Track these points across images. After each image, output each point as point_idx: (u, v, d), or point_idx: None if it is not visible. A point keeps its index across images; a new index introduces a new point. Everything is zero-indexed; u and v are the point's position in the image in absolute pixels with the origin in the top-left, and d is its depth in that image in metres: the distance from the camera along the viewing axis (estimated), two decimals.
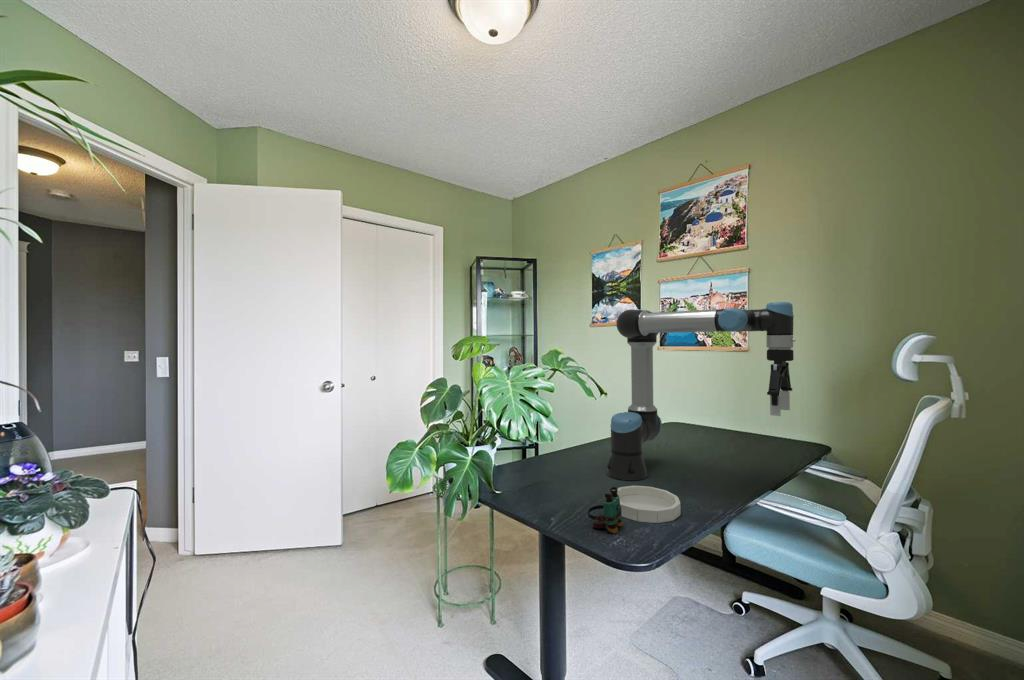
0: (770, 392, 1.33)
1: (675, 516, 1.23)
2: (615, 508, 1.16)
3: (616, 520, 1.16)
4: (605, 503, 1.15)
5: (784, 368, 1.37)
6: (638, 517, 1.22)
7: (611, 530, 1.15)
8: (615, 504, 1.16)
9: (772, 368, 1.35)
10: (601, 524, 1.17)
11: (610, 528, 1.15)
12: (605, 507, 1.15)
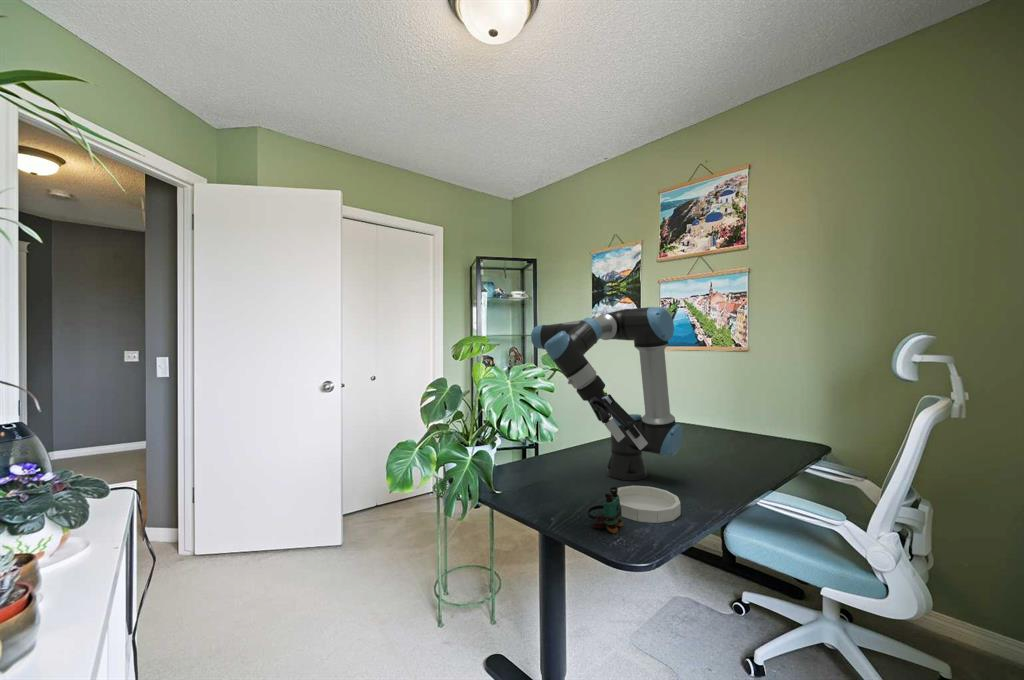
0: None
1: (675, 516, 1.23)
2: (615, 508, 1.16)
3: (616, 520, 1.16)
4: (605, 503, 1.15)
5: None
6: (638, 517, 1.22)
7: (611, 530, 1.15)
8: (615, 504, 1.16)
9: None
10: (601, 524, 1.17)
11: (610, 528, 1.15)
12: (605, 507, 1.15)
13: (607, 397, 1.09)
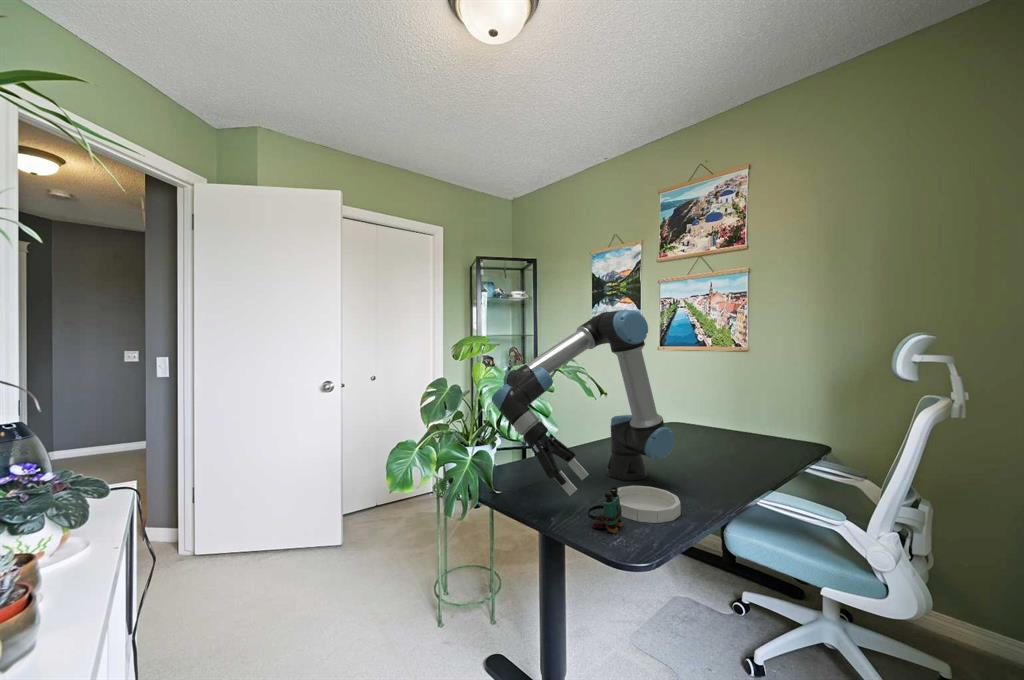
0: None
1: (675, 516, 1.23)
2: (615, 508, 1.16)
3: (616, 520, 1.16)
4: (605, 503, 1.15)
5: None
6: (638, 517, 1.22)
7: (611, 530, 1.15)
8: (615, 504, 1.16)
9: None
10: (601, 524, 1.17)
11: (610, 528, 1.15)
12: (605, 507, 1.15)
13: (534, 447, 1.20)
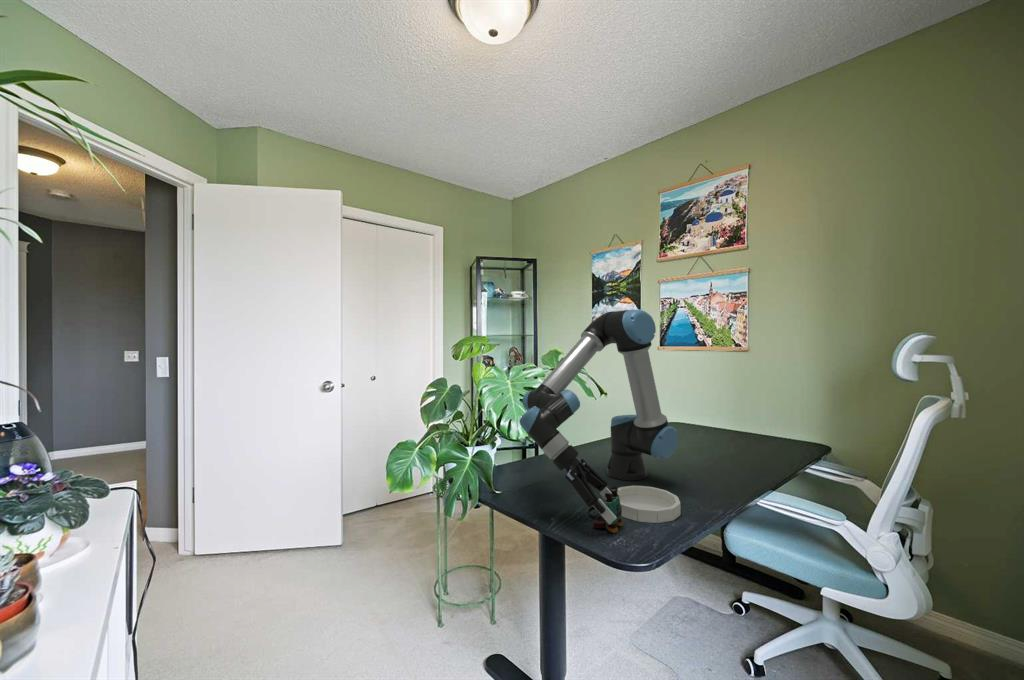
0: None
1: (675, 516, 1.23)
2: (615, 508, 1.16)
3: (616, 520, 1.16)
4: (605, 503, 1.15)
5: None
6: (638, 517, 1.22)
7: (611, 530, 1.15)
8: (615, 503, 1.16)
9: None
10: (601, 524, 1.17)
11: (610, 528, 1.15)
12: None
13: (568, 475, 1.16)
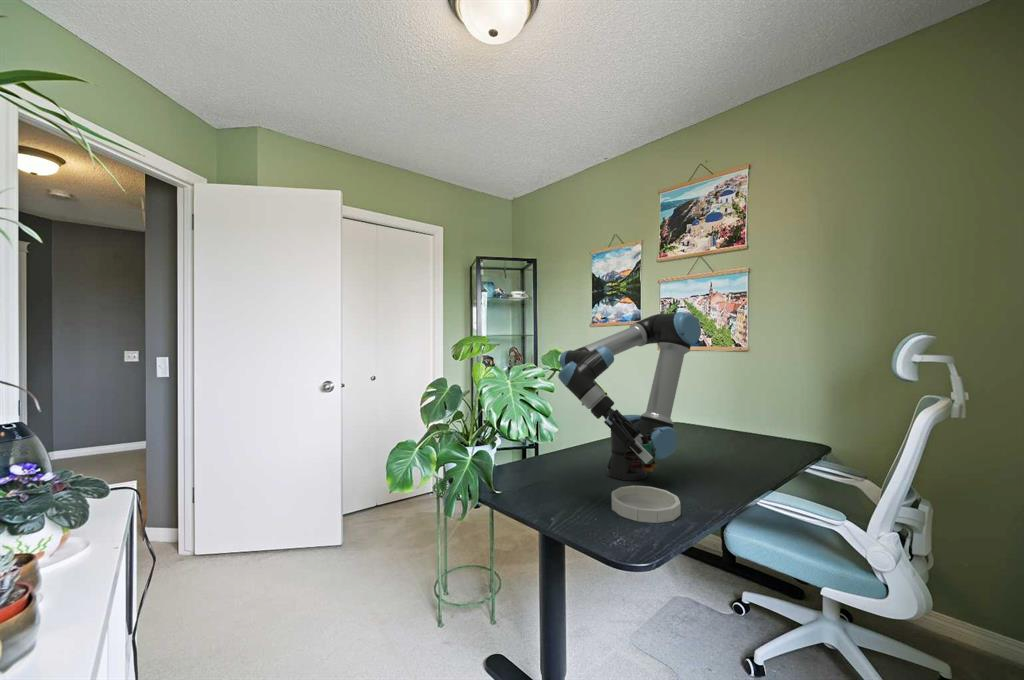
0: None
1: (675, 516, 1.23)
2: (650, 449, 1.27)
3: (652, 460, 1.26)
4: (641, 445, 1.26)
5: None
6: (638, 517, 1.22)
7: (647, 469, 1.25)
8: (650, 445, 1.27)
9: None
10: (638, 464, 1.27)
11: (646, 467, 1.26)
12: None
13: (607, 420, 1.27)
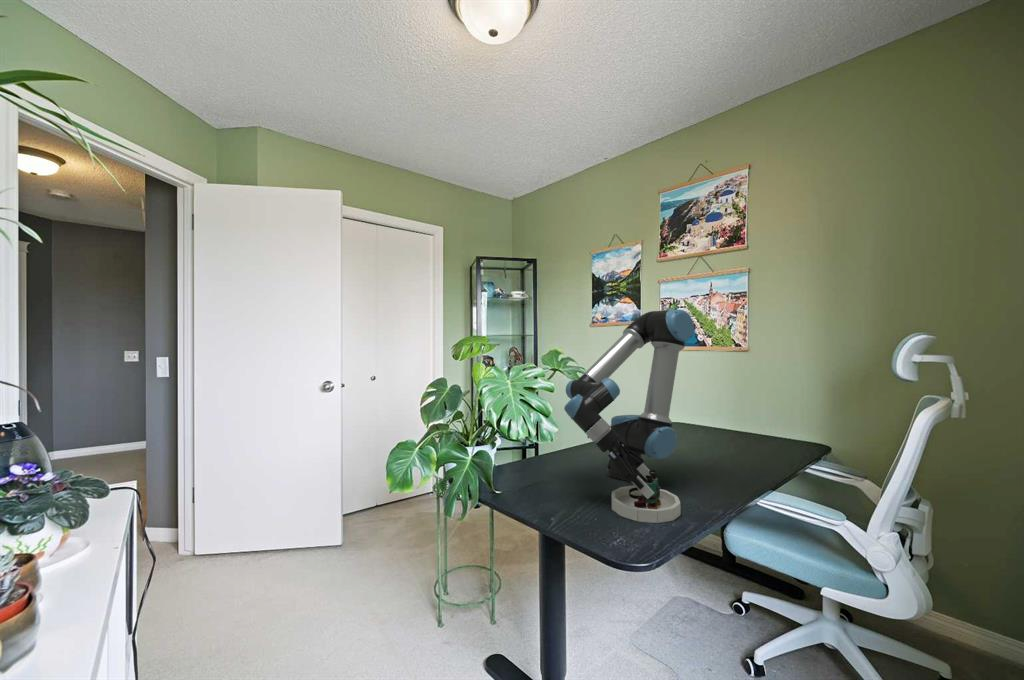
0: None
1: (675, 516, 1.23)
2: (655, 488, 1.28)
3: (656, 499, 1.27)
4: None
5: None
6: (638, 517, 1.22)
7: (652, 508, 1.26)
8: (655, 484, 1.28)
9: None
10: (642, 503, 1.29)
11: (651, 506, 1.27)
12: None
13: (611, 453, 1.28)
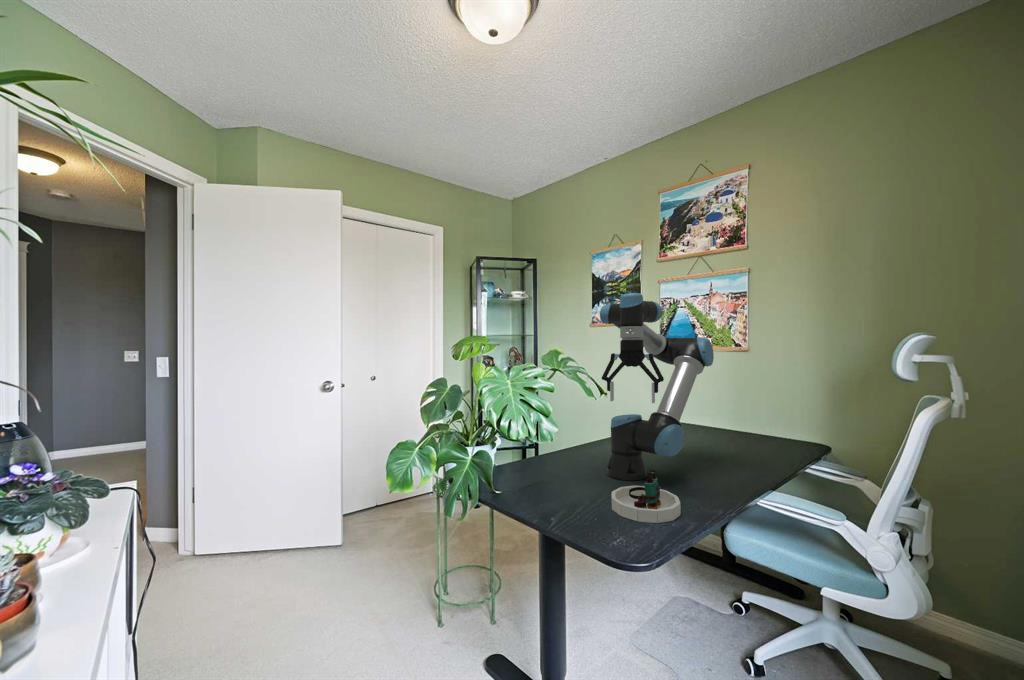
0: None
1: (675, 516, 1.23)
2: (655, 488, 1.28)
3: (656, 499, 1.27)
4: (646, 484, 1.27)
5: (625, 358, 1.42)
6: (638, 517, 1.22)
7: (652, 508, 1.26)
8: (655, 484, 1.28)
9: None
10: (642, 503, 1.29)
11: (651, 506, 1.27)
12: (646, 487, 1.27)
13: (652, 354, 1.40)
